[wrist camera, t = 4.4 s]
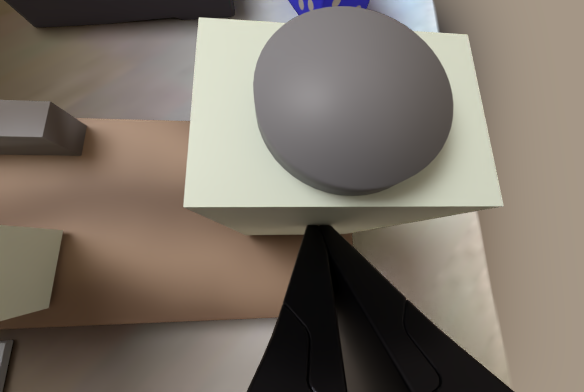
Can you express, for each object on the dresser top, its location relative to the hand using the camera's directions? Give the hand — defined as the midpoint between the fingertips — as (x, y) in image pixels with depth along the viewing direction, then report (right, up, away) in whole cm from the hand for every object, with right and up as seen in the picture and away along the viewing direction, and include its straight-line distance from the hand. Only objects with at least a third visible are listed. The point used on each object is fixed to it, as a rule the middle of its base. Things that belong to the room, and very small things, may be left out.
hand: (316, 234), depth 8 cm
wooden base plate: (-9, 0, +7) cm, 11 cm away
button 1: (-1, +1, +6) cm, 6 cm away
